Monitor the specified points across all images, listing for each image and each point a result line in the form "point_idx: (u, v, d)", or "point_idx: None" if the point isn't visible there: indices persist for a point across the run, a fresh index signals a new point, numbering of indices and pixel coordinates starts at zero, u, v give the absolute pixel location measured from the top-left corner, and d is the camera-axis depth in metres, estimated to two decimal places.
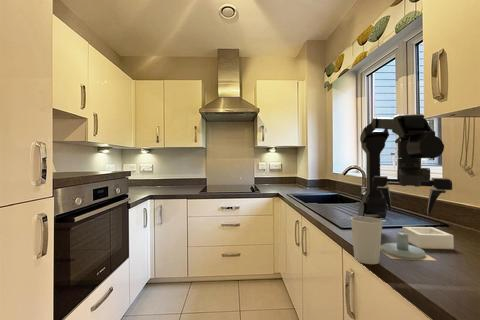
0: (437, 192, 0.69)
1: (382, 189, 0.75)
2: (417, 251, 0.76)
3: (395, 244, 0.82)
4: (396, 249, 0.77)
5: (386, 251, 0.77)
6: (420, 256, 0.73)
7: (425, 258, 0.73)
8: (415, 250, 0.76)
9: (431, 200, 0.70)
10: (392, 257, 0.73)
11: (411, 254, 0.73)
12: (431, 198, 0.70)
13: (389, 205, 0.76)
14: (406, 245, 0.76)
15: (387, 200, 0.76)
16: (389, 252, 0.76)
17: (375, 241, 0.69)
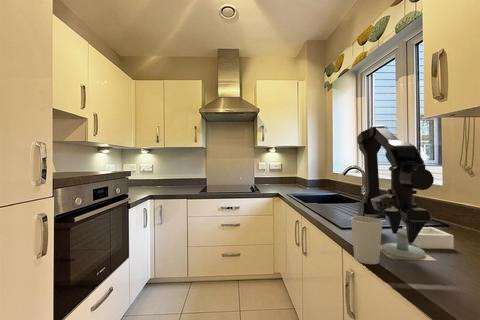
0: (403, 221, 0.72)
1: (382, 211, 0.85)
2: (417, 251, 0.76)
3: (395, 244, 0.82)
4: (396, 249, 0.77)
5: (386, 251, 0.77)
6: (420, 256, 0.73)
7: (425, 258, 0.73)
8: (415, 250, 0.76)
9: (406, 228, 0.73)
10: (392, 257, 0.73)
11: (411, 254, 0.73)
12: (406, 226, 0.73)
13: (391, 227, 0.83)
14: (406, 245, 0.76)
15: (389, 222, 0.83)
16: (389, 252, 0.76)
17: (375, 241, 0.69)
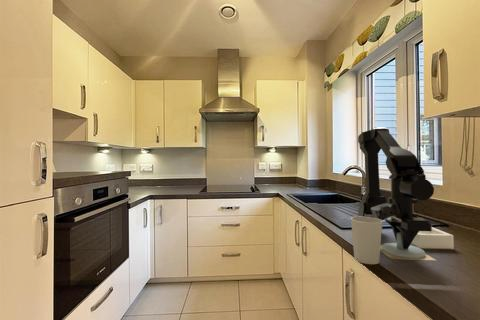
0: (398, 228, 0.75)
1: (387, 222, 0.82)
2: (417, 251, 0.76)
3: (395, 244, 0.82)
4: (396, 249, 0.77)
5: (386, 251, 0.77)
6: (420, 256, 0.73)
7: (425, 258, 0.73)
8: (415, 250, 0.76)
9: (401, 235, 0.76)
10: (392, 257, 0.73)
11: (411, 254, 0.73)
12: (401, 233, 0.76)
13: (396, 239, 0.80)
14: None
15: (394, 234, 0.80)
16: (389, 252, 0.76)
17: (375, 241, 0.69)
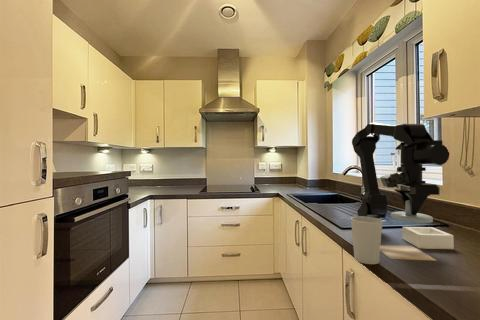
0: (407, 194, 0.78)
1: (396, 191, 0.85)
2: (425, 217, 0.78)
3: (404, 212, 0.85)
4: (405, 215, 0.80)
5: (395, 217, 0.80)
6: (428, 220, 0.75)
7: (425, 258, 0.73)
8: (423, 216, 0.79)
9: (410, 201, 0.79)
10: (392, 257, 0.73)
11: (419, 219, 0.76)
12: (410, 200, 0.79)
13: None
14: None
15: (403, 202, 0.83)
16: (398, 218, 0.79)
17: (375, 241, 0.69)
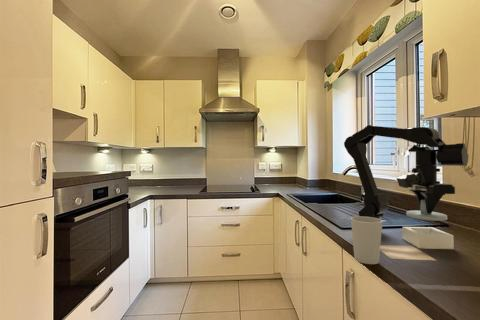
0: (423, 193, 0.82)
1: (411, 191, 0.89)
2: (440, 215, 0.83)
3: (418, 211, 0.89)
4: (420, 214, 0.85)
5: (411, 215, 0.85)
6: (443, 218, 0.80)
7: (425, 258, 0.73)
8: (438, 214, 0.84)
9: (425, 201, 0.83)
10: (392, 257, 0.73)
11: (435, 217, 0.81)
12: (425, 199, 0.83)
13: (419, 206, 0.88)
14: None
15: (418, 201, 0.88)
16: (414, 216, 0.83)
17: (375, 241, 0.69)
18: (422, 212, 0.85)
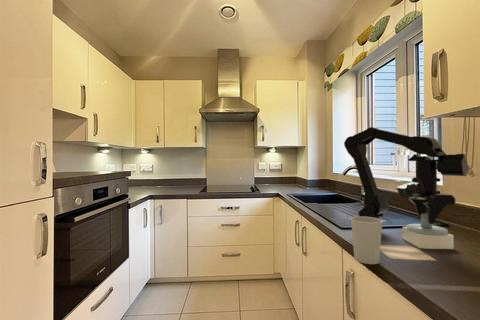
0: (425, 204, 0.82)
1: (409, 199, 0.90)
2: (440, 229, 0.83)
3: (418, 224, 0.89)
4: (421, 228, 0.85)
5: (412, 230, 0.85)
6: (444, 233, 0.80)
7: (425, 258, 0.73)
8: (438, 229, 0.84)
9: (427, 211, 0.83)
10: (392, 257, 0.73)
11: (435, 231, 0.81)
12: (427, 209, 0.83)
13: (418, 214, 0.88)
14: (430, 224, 0.84)
15: (416, 210, 0.89)
16: (415, 230, 0.83)
17: (375, 241, 0.69)
18: (422, 226, 0.85)
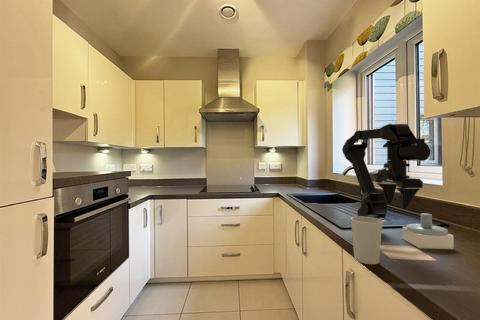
0: (398, 189, 0.82)
1: (378, 184, 0.95)
2: (440, 229, 0.83)
3: (418, 224, 0.89)
4: (421, 228, 0.85)
5: (412, 230, 0.85)
6: (444, 233, 0.80)
7: (425, 258, 0.73)
8: (438, 229, 0.84)
9: (401, 196, 0.83)
10: (392, 257, 0.73)
11: (435, 231, 0.81)
12: (401, 194, 0.83)
13: (386, 198, 0.93)
14: (430, 224, 0.84)
15: (385, 194, 0.93)
16: (415, 230, 0.83)
17: (375, 241, 0.69)
18: (422, 226, 0.85)
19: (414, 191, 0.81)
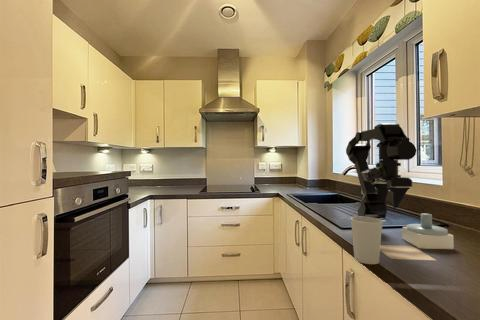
0: (388, 188, 0.83)
1: (372, 184, 0.95)
2: (440, 229, 0.83)
3: (418, 224, 0.89)
4: (421, 228, 0.85)
5: (412, 230, 0.85)
6: (444, 233, 0.80)
7: (425, 258, 0.73)
8: (438, 229, 0.84)
9: (391, 195, 0.84)
10: (392, 257, 0.73)
11: (435, 231, 0.81)
12: (391, 193, 0.84)
13: (379, 198, 0.93)
14: (430, 224, 0.84)
15: (378, 194, 0.94)
16: (415, 230, 0.83)
17: (375, 241, 0.69)
18: (422, 226, 0.85)
19: (404, 190, 0.82)
